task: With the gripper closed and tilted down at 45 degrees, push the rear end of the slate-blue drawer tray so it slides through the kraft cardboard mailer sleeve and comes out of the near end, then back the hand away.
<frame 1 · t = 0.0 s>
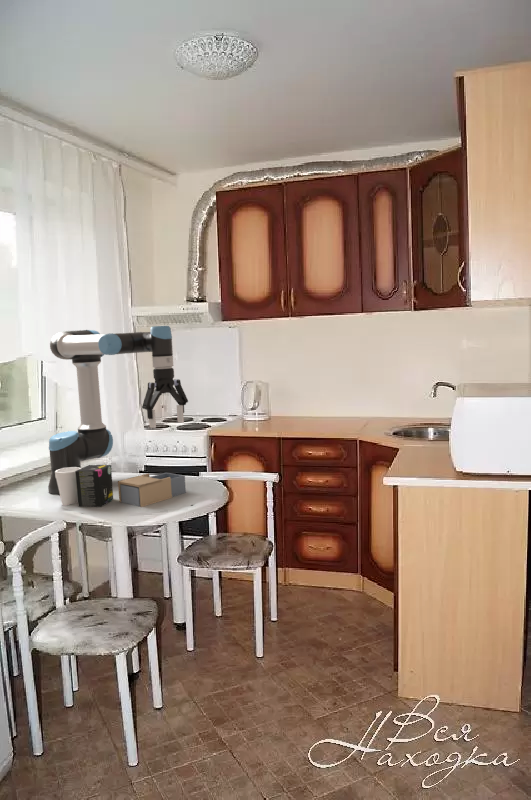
hand: (167, 424, 241), 28 cm above the table, tool pointing down, fingers open, 13 cm apart
drawer tray: (153, 489, 241), point 4 cm above the table, slide at 4.0 cm, touching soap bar
foam cup: (71, 504, 243), on the table
mailer sleeve: (146, 503, 239), on the table
tampon box: (96, 507, 238), on the table
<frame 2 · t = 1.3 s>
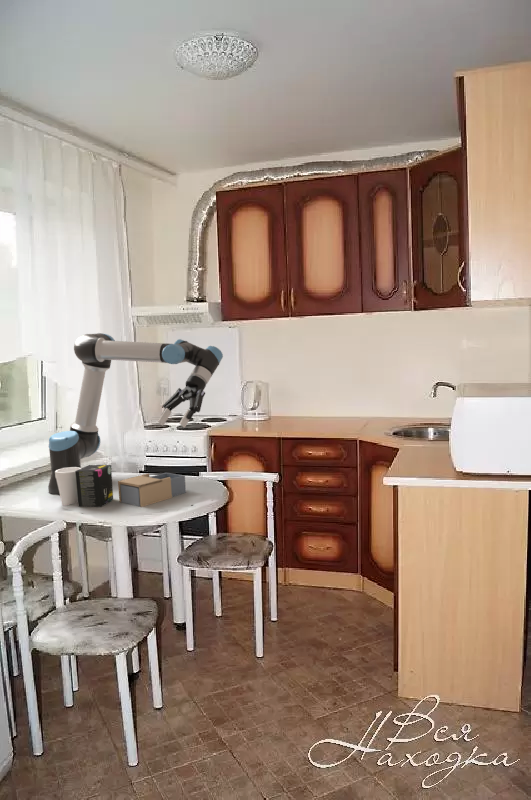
hand: (171, 424, 245), 27 cm above the table, tool tilted 45°, fingers open, 12 cm apart
nothing on the table moved.
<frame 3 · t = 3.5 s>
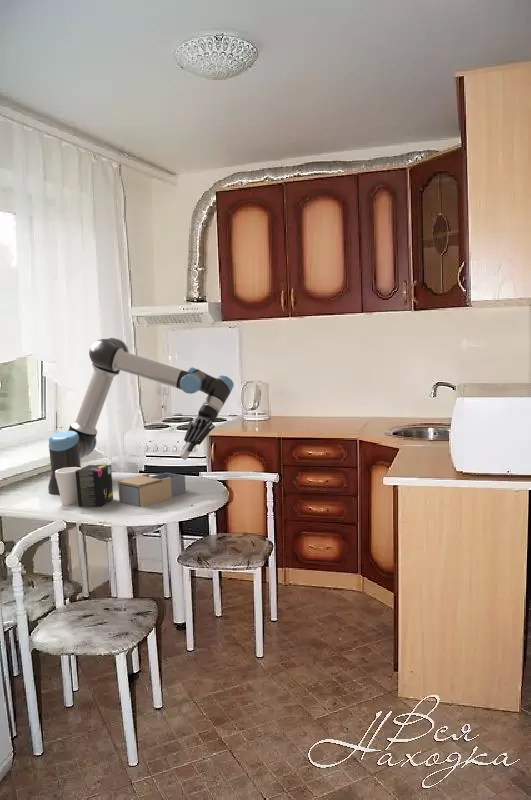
hand: (182, 457, 252), 13 cm above the table, tool tilted 45°, fingers closed
nothing on the table moved.
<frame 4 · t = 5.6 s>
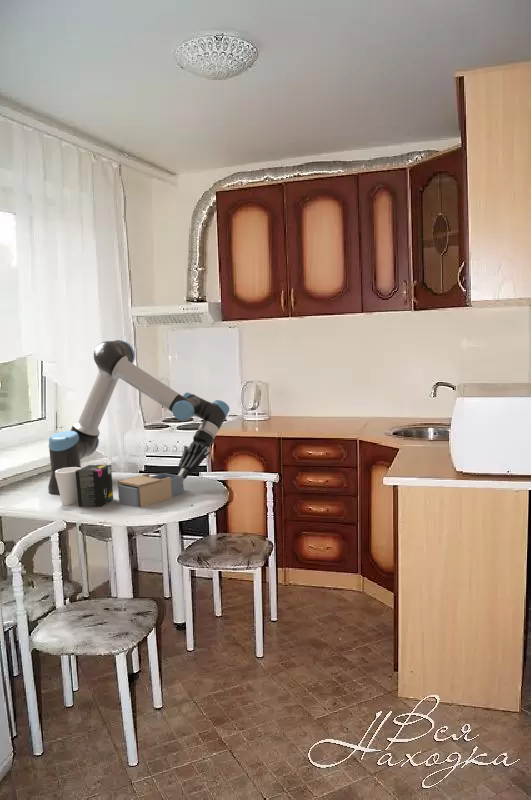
hand: (177, 484, 249), 4 cm above the table, tool tilted 45°, fingers closed
drawer tray: (151, 489, 240), point 4 cm above the table, slide at 3.0 cm, touching gripper, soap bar
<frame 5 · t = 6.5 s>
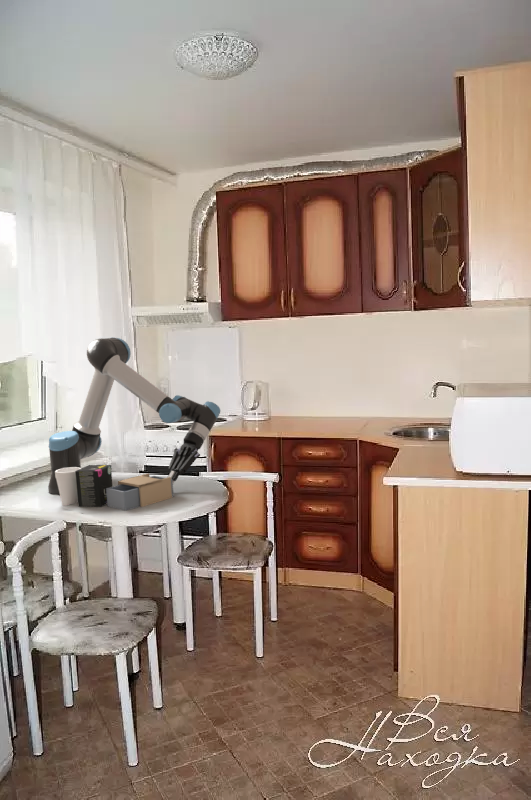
hand: (166, 487, 245), 4 cm above the table, tool tilted 45°, fingers closed
drawer tray: (140, 493, 236), point 4 cm above the table, slide at -2.2 cm, touching gripper, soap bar
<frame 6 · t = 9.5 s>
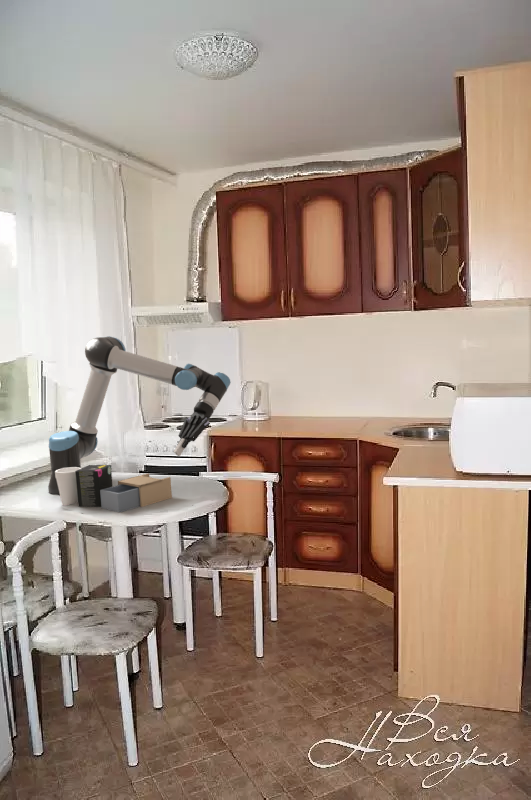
hand: (176, 453, 250), 15 cm above the table, tool tilted 45°, fingers closed
drawer tray: (135, 494, 235), point 4 cm above the table, slide at -4.7 cm, touching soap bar
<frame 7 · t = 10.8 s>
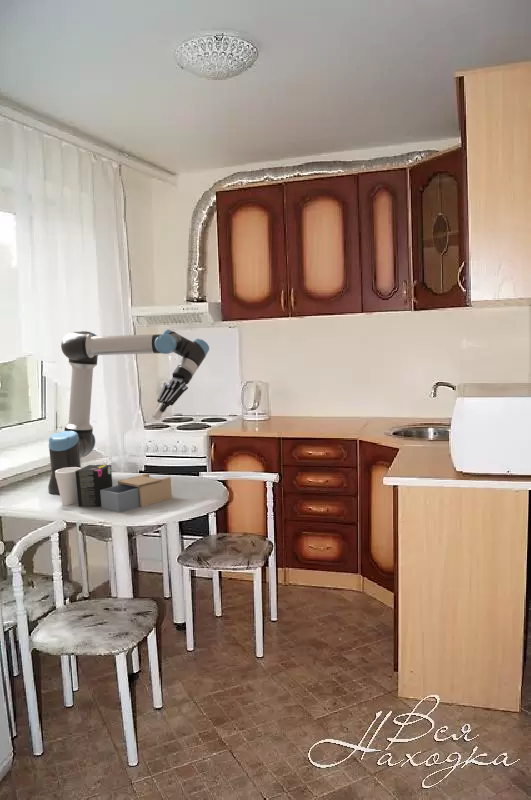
hand: (155, 417, 252), 29 cm above the table, tool tilted 45°, fingers closed
nothing on the table moved.
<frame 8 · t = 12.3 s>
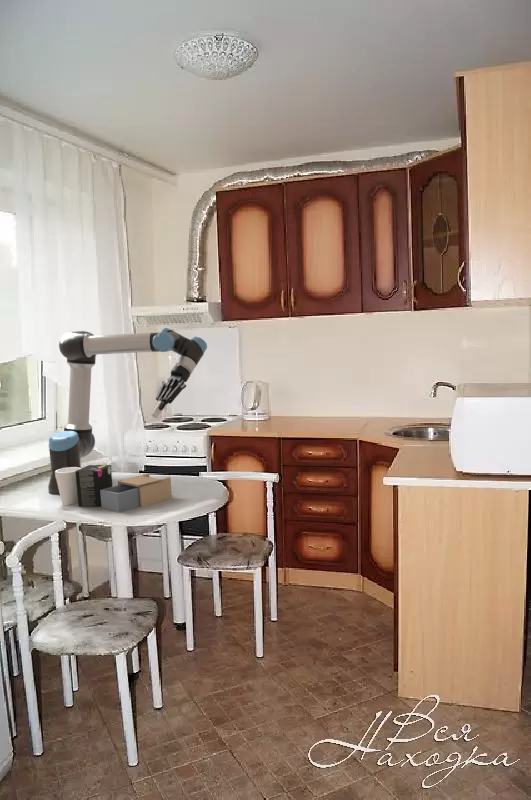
hand: (153, 415, 253), 30 cm above the table, tool tilted 45°, fingers closed
nothing on the table moved.
at the end: drawer tray slide at -4.7 cm; the gripper is holding nothing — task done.
